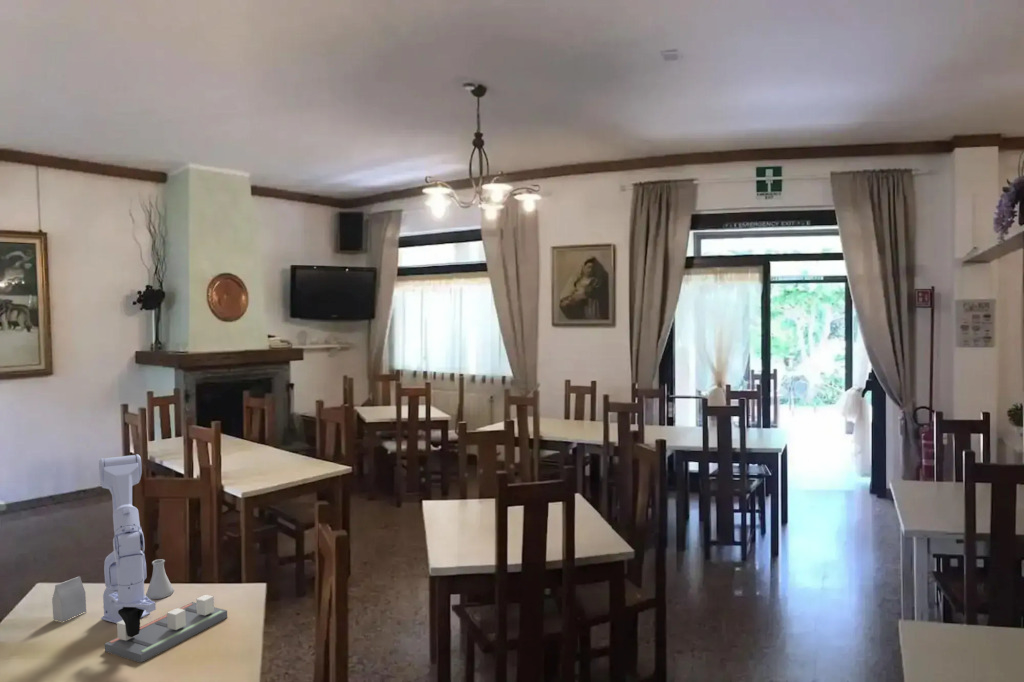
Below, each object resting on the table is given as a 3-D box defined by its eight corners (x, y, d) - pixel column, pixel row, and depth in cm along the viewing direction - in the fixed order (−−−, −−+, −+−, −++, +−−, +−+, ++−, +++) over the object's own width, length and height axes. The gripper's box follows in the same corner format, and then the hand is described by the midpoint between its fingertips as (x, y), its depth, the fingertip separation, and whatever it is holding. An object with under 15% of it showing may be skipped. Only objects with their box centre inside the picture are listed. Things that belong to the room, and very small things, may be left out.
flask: (162, 600, 205) (160, 566, 205) (140, 599, 207) (138, 564, 206) (179, 590, 212) (177, 557, 212) (157, 588, 214) (155, 555, 213)
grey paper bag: (86, 612, 198) (84, 577, 197) (62, 623, 192) (60, 586, 191) (77, 610, 200) (75, 575, 199) (53, 620, 194) (51, 584, 193)
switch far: (196, 613, 191) (196, 598, 191) (206, 609, 194) (205, 594, 193) (205, 615, 190) (204, 600, 189) (214, 611, 192) (213, 596, 192)
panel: (104, 651, 176) (104, 643, 176) (193, 609, 200) (192, 601, 199) (141, 662, 171) (140, 654, 170) (227, 617, 194) (227, 610, 194)
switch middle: (167, 627, 183) (167, 612, 183) (177, 622, 186) (177, 607, 185) (176, 630, 182) (175, 614, 181) (185, 625, 184) (185, 610, 184)
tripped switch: (117, 638, 178) (116, 622, 177) (128, 633, 180) (128, 617, 180) (125, 640, 176) (125, 624, 176) (136, 635, 179) (136, 619, 179)
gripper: (95, 582, 176) (98, 636, 177) (136, 592, 170) (138, 648, 171) (122, 572, 182) (124, 624, 183) (162, 581, 176) (164, 635, 177)
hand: (133, 635), depth 177 cm, fingers closed
